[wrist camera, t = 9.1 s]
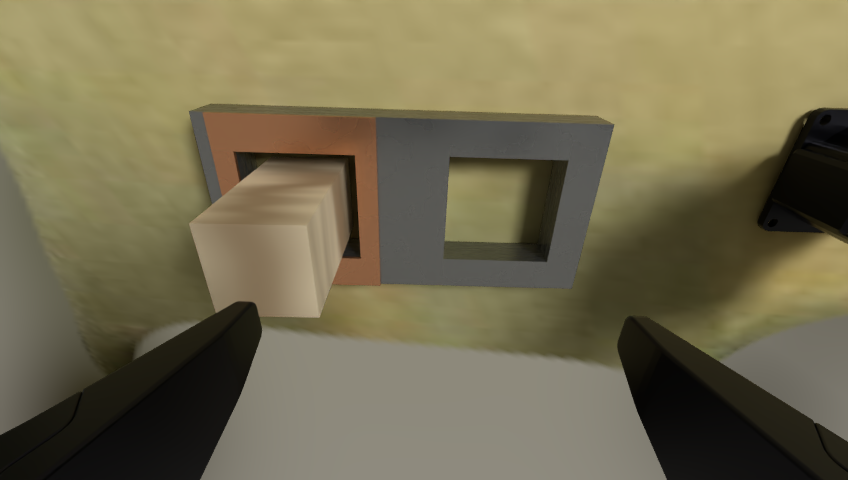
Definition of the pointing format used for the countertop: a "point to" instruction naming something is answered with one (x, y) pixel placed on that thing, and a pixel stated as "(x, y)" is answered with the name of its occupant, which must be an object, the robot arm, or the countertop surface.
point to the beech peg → (278, 236)
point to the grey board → (422, 184)
